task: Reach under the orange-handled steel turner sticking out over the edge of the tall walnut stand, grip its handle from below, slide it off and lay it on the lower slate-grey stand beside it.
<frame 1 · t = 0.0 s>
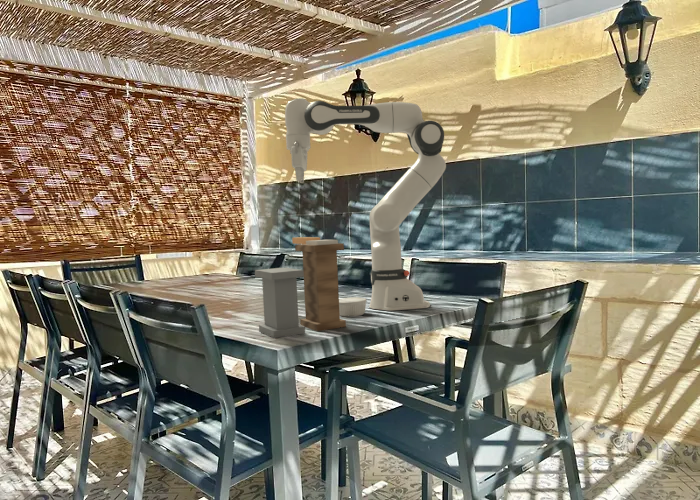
hand: (300, 181, 200), 48 cm above the table, tool pointing down, fingers open, 8 cm apart
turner: (309, 243, 176), point 26 cm above the table, touching tall stand
low stand: (281, 332, 165), on the table
tall stand: (322, 326, 172), on the table
ramekin: (351, 315, 191), on the table
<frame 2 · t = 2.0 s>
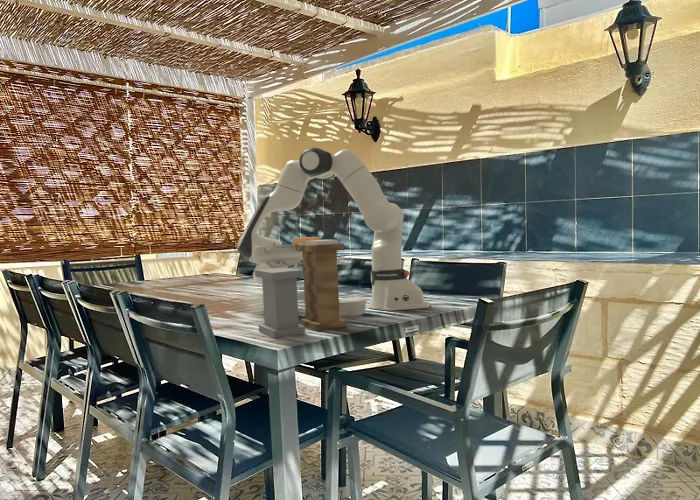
hand: (286, 243, 193), 26 cm above the table, tool pointing upward, fingers open, 8 cm apart
nothing on the table moved.
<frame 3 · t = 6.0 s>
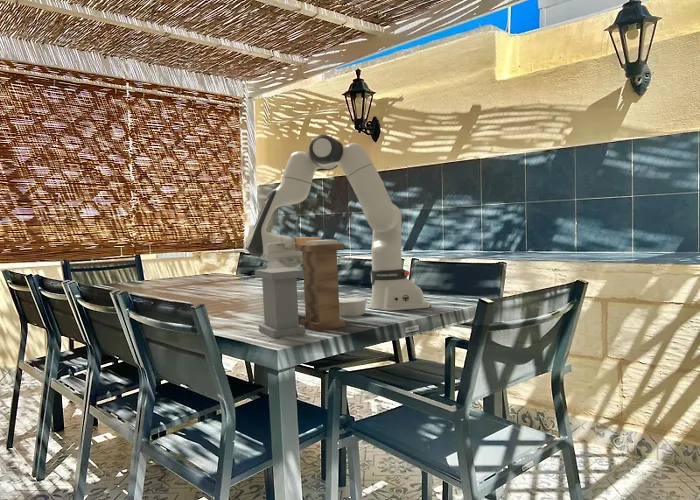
hand: (300, 239, 182), 27 cm above the table, tool pointing upward, fingers closed on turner, 3 cm apart
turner: (309, 243, 176), point 26 cm above the table, touching gripper, tall stand
everything else where it was.
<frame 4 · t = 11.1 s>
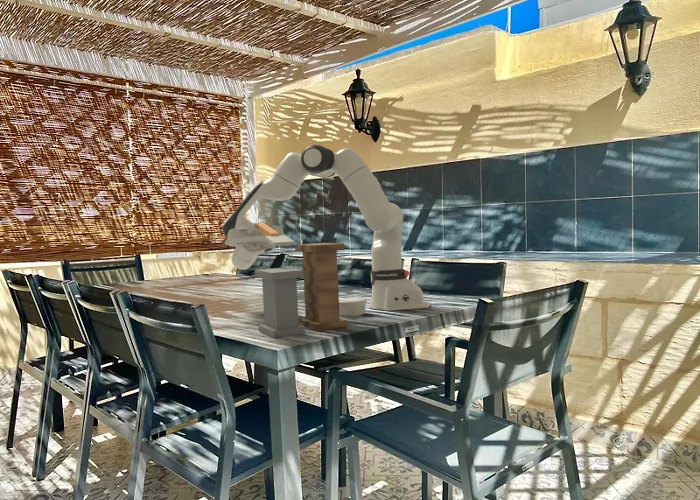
hand: (261, 224, 190), 33 cm above the table, tool pointing upward, fingers closed on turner, 3 cm apart
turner: (269, 235, 185), point 29 cm above the table, tilted 15°, touching gripper
everything else where it was.
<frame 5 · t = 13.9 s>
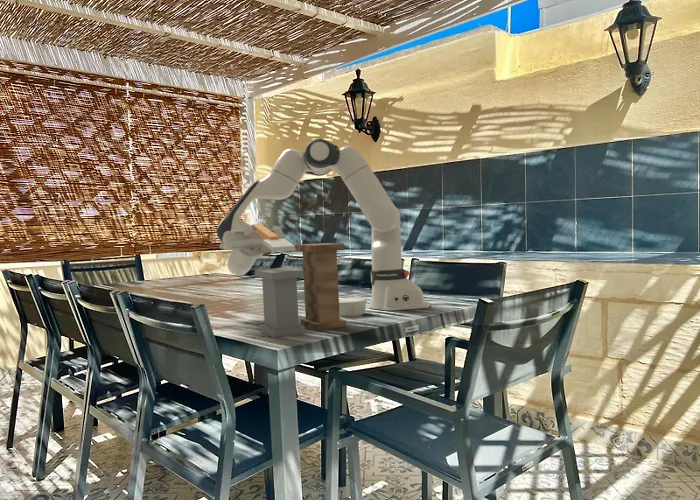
hand: (259, 226, 175), 32 cm above the table, tool pointing upward, fingers closed on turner, 3 cm apart
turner: (267, 238, 170), point 28 cm above the table, tilted 15°, touching gripper
everything else where it was.
when the fingers open (22 cm above the table, at t = 16.4 s): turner stays where it is, resting on low stand.
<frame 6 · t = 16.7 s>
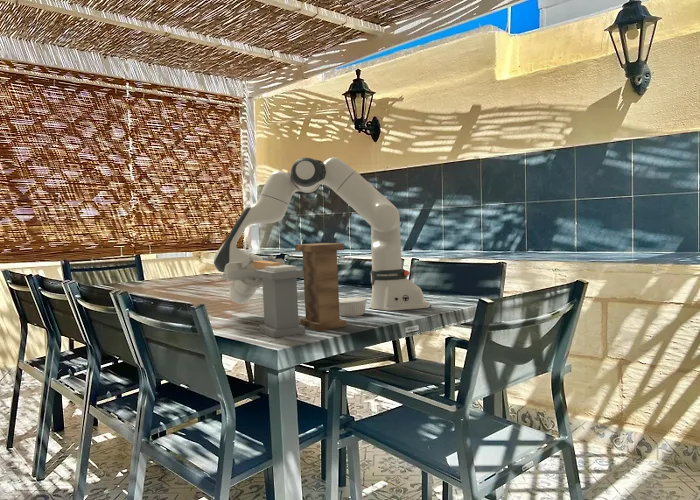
hand: (261, 258, 176), 22 cm above the table, tool pointing upward, fingers open, 6 cm apart
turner: (269, 268, 170), point 19 cm above the table, touching low stand
everything else where it was.
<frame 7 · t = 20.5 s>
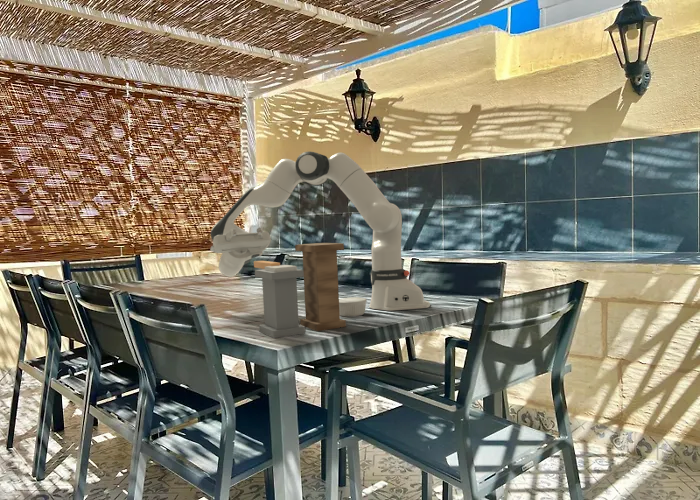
hand: (247, 230, 186), 31 cm above the table, tool pointing upward, fingers open, 8 cm apart
nothing on the table moved.
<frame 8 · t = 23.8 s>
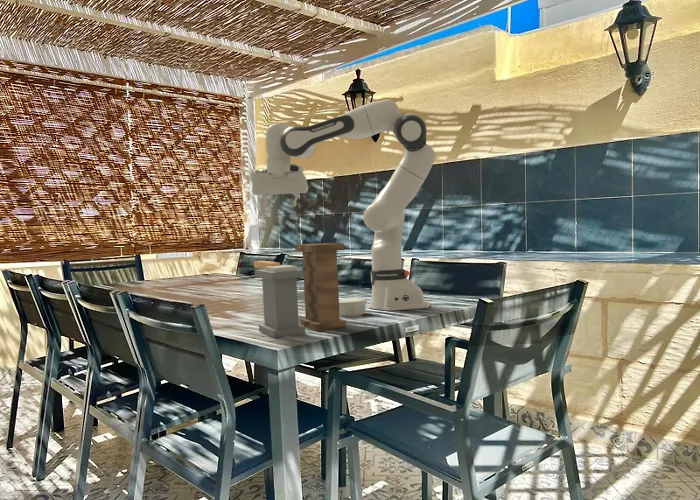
hand: (281, 206, 199), 39 cm above the table, tool pointing down, fingers open, 8 cm apart
nothing on the table moved.
at the end: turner 0.4 cm from the target spot on the low stand, point 19.0 cm above the low stand's base; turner tilted 0°; the gripper is holding nothing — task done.
